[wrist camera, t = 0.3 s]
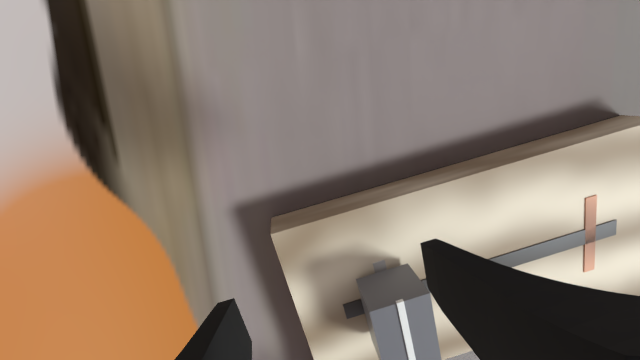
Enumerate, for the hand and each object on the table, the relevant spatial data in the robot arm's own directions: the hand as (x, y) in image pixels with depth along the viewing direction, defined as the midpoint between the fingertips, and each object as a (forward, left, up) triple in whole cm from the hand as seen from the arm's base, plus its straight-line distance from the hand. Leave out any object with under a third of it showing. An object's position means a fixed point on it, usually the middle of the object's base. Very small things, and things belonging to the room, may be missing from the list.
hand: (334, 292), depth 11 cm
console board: (-7, -10, -10) cm, 16 cm away
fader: (-7, -3, -7) cm, 11 cm away
